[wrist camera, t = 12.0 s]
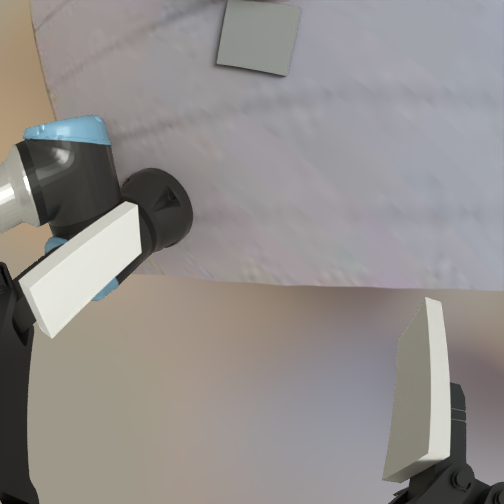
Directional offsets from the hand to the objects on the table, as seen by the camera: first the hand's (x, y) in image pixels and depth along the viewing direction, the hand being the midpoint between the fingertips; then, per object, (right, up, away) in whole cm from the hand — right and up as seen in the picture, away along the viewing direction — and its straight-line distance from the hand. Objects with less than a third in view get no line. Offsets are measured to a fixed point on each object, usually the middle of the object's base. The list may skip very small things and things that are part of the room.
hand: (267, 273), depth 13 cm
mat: (0, +30, +21) cm, 36 cm away
